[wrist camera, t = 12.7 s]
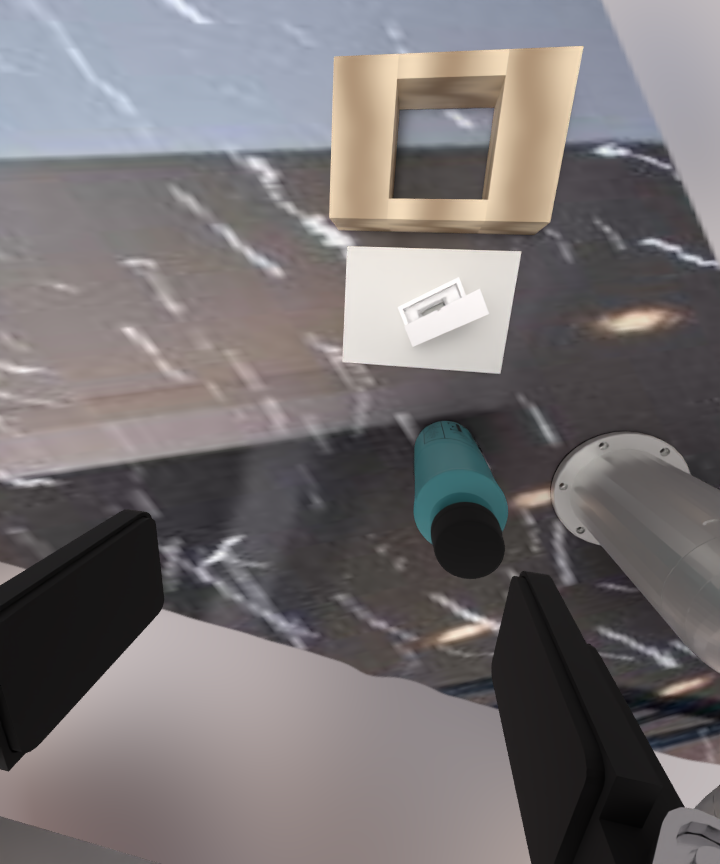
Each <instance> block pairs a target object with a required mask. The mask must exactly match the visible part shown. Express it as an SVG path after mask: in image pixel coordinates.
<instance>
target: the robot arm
mask: <svg viewBox="0 0 720 864" xmlns="http://www.w3.org/2000/svg"><path fill="white" fill-rule="evenodd" d="M600 443H602V444H601V445H600ZM561 483H562V484H561ZM560 484H561V485H560ZM551 500H552V505H553V508H554V510H555V513H556V515H557V516H558V518H559V519H560V521H561V522H562V523H563V524H564V526H565V527H566V528H567V529H568V530H569V531H570V532H571V533H573V534H574V535H575V536H577V537H579V538H581V539H583V540H585V541H587V542H590V543H593V544H597V545H601V546H602V547H603V548H604V549H605V551H606V552H607V553H608V554H609V555H610V556H611V558H612V559H613V560H614V561H615V562H616V564H617V565H618V566H619V567H620V568H621V569H622V571H623V572H624V573H625V574H626V575H627V576H628V578H629V579H630V580H631V581H632V582H633V584H634V585H635V586H636V587H637V588H638V589H639V591H640V592H641V593H642V594H643V595H644V596H645V598H646V599H647V600H648V601H649V602H650V604H651V605H652V606H653V607H654V608H655V609H656V611H657V612H658V613H659V614H660V615H661V617H662V618H663V619H664V620H665V621H666V622H667V624H668V625H669V626H670V627H671V628H672V630H673V631H674V632H675V633H676V634H677V635H678V637H679V638H680V639H681V640H682V641H683V642H684V644H685V645H686V646H687V647H688V648H689V649H690V650H691V651H692V652H693V653H694V654H695V655H696V656H697V657H698V658H699V659H701V660H702V661H703V662H704V663H706V664H707V665H708V666H709V667H711V668H712V669H714V670H715V671H717V672H718V673H720V490H718V489H716V488H715V487H713V486H711V485H709V484H707V483H705V482H703V481H701V480H700V479H698V478H696V477H694V476H692V475H691V474H690V471H689V468H688V465H687V463H686V462H685V460H684V458H683V457H682V455H681V454H680V453H679V452H678V451H677V450H676V449H675V448H674V447H672V446H671V445H669V444H667V443H666V442H664V441H662V440H660V439H658V438H656V437H653V436H651V435H647V434H643V433H640V432H629V431H623V432H612V433H608V434H604V435H600V436H597V437H595V438H592V439H590V440H588V441H586V442H584V443H583V444H581V445H579V446H578V447H576V448H575V449H574V450H573V451H572V452H571V453H569V454H568V455H567V456H566V458H565V459H564V460H563V461H562V462H561V464H560V465H559V467H558V469H557V471H556V473H555V475H554V478H553V481H552V485H551ZM163 603H164V593H163V584H162V575H161V566H160V558H159V549H158V540H157V531H156V523H155V521H154V520H153V519H152V518H151V515H150V514H149V513H147V512H142V511H136V510H129V509H127V510H123V511H121V512H119V513H118V514H116V515H114V516H113V517H111V518H109V519H108V520H106V521H104V522H103V523H101V524H100V525H98V526H96V527H95V528H93V529H91V530H90V531H88V532H87V533H85V534H83V535H82V536H80V537H78V538H77V539H75V540H73V541H72V542H70V543H69V544H67V545H65V546H64V547H62V548H60V549H59V550H57V551H56V552H54V553H52V554H51V555H49V556H47V557H46V558H44V559H43V560H41V561H39V562H38V563H36V564H34V565H33V566H31V567H29V568H28V569H26V570H25V571H23V572H22V573H20V574H18V575H17V576H15V577H13V578H12V579H10V580H8V581H7V582H5V583H4V584H2V585H0V769H1V770H5V771H10V769H11V768H12V767H13V766H14V765H15V764H16V763H17V762H18V761H19V760H20V759H21V758H22V756H23V755H24V754H25V753H27V752H30V751H32V750H33V749H35V748H36V747H37V746H38V745H39V744H40V743H41V742H42V741H43V740H44V739H45V738H46V737H47V735H49V733H50V732H51V731H52V730H53V729H54V728H55V727H56V726H57V725H58V724H59V722H60V721H61V720H62V719H63V718H64V717H65V716H66V715H67V714H68V713H69V711H70V710H71V709H72V708H73V707H74V706H75V705H76V704H77V703H78V701H80V699H81V698H82V697H83V696H84V695H85V694H86V693H87V692H88V691H89V689H90V688H91V687H92V686H93V685H94V684H95V683H96V682H97V681H98V680H99V679H100V677H101V676H102V675H103V674H104V673H105V672H106V671H107V670H108V669H109V668H110V666H111V665H112V664H113V663H114V662H115V661H116V660H117V659H118V658H119V657H120V655H121V654H122V653H123V652H124V651H125V650H126V649H127V648H128V647H129V646H130V645H131V643H132V642H133V641H134V640H135V639H136V638H137V637H138V636H139V635H140V634H141V633H142V631H143V630H144V629H145V628H146V627H147V626H148V625H149V624H150V622H152V620H153V619H154V618H155V617H156V616H157V615H158V614H159V612H160V611H161V609H162V607H163ZM492 680H493V685H494V690H495V694H496V699H497V704H498V709H499V713H500V718H501V723H502V727H503V732H504V737H505V742H506V746H507V751H508V756H509V760H510V765H511V770H512V775H513V779H514V784H515V789H516V793H517V798H518V803H519V808H520V812H521V817H522V821H523V827H524V831H525V836H526V841H527V845H528V850H529V855H530V859H531V864H720V785H719V786H718V787H717V788H716V789H714V790H713V791H712V792H711V793H709V794H708V795H707V796H706V797H705V798H704V799H703V800H702V801H701V802H700V803H699V804H698V805H697V806H696V807H695V808H694V809H691V808H685V807H684V805H683V803H682V802H681V800H680V798H679V796H678V794H677V793H676V791H675V789H674V787H673V785H672V784H671V782H670V780H669V778H668V776H667V775H666V773H665V771H664V769H663V767H662V766H661V764H660V762H659V760H658V758H657V757H656V755H655V753H654V751H653V750H652V748H651V746H650V744H649V742H648V741H647V739H646V737H645V735H644V733H643V732H642V730H641V728H640V726H639V724H638V723H637V721H636V719H635V717H634V715H633V714H632V712H631V710H630V708H629V706H628V705H627V703H626V701H625V699H624V698H623V696H622V694H621V692H620V690H619V689H618V687H617V685H616V683H615V681H614V680H613V678H612V676H611V674H610V672H609V671H608V669H607V667H606V665H605V663H604V662H603V660H602V658H601V656H600V655H599V653H598V652H597V650H596V649H595V648H594V647H593V646H592V645H590V644H586V642H585V640H584V638H583V636H582V634H581V632H580V630H579V629H578V627H577V625H576V623H575V621H574V619H573V617H572V616H571V614H570V612H569V610H568V608H567V606H566V604H565V602H564V601H563V599H562V597H561V595H560V593H559V591H558V589H557V588H556V586H555V584H554V582H553V580H552V578H551V577H550V576H549V575H545V574H539V573H533V572H526V571H523V572H521V574H520V576H519V577H517V576H513V577H512V579H511V583H510V587H509V592H508V596H507V600H506V604H505V609H504V613H503V617H502V621H501V626H500V630H499V634H498V638H497V643H496V647H495V651H494V656H493V660H492ZM0 864H160V863H156V862H153V861H150V860H147V859H143V858H140V857H136V856H133V855H130V854H126V853H123V852H120V851H116V850H113V849H110V848H106V847H103V846H99V845H96V844H92V843H89V842H86V841H82V840H79V839H76V838H72V837H69V836H66V835H62V834H59V833H55V832H52V831H49V830H45V829H42V828H38V827H35V826H32V825H28V824H25V823H21V822H18V821H14V820H11V819H8V818H4V817H1V816H0Z"/></svg>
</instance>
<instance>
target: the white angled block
mask: <svg viewBox="0 0 720 864" xmlns="http://www.w3.org/2000/svg"><path fill="white" fill-rule="evenodd" d="M440 303H443V305H444V307H442V308H440V309H439V310H438V311H437V310H435V311H433V312H431V313H429V314H427V315H425V316H422V314H421V313H422V312H424V311H426V310H428V309H430V308H432V307H434V306H436V305H438V304H440ZM398 310H399V312H400V315H401V317H402V319H403V322H404V324H405V326H404V327H405V330H406V332H407V335H408V337H409V339H410V342H411V344H412V347H414V346H416V345H418V344H421V343H423V342H425V341H428V340H430V339H432V338H435V337H437V336H439V335H441V334H444V333H446V332H448V331H451V330H453V329H455V328H458V327H460V326H462V325H465V324H467V323H469V322H472V321H474V320H476V319H479V318H481V317H483V316H486V315H488V314H489V312H488V309H487V307H486V304H485V301H484V298H483V296H482V293H481V290H480V289H478V290H476V291H474V292H472V293H470V294H468V295H466V294H465V291H464V289H463V286H462V283H461V281H460V278H459V277H458V278H456V279H453V280H451V281H449V282H447V283H445V284H443V285H441V286H439V287H437V288H435V289H433V290H431V291H429V292H427V293H425V294H423V295H421V296H419V297H417V298H415V299H413V300H411V301H409V302H407V303H405V304H403V305H401V306H399V307H398Z"/></svg>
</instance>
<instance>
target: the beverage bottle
mask: <svg viewBox="0 0 720 864" xmlns="http://www.w3.org/2000/svg"><path fill="white" fill-rule="evenodd" d="M424 428H425V427H424ZM467 429H468V428H467ZM467 429H466V427H465V428H464V427H463V425H461V424H459V423H458V422H457V423H455V421H454V422H451V421H450V420H449V421H442V420H441V421H440V422H437V421H436V423H434V422H433V424H431V425H429V426H427V427H426V428H425V429H423V430H422V432H421V433H420V434H419V436H418V438H417V440H416V443H415V459H414V460H415V483H414V484H415V502H414V519H415V522H416V525H417V527H418V529H419V531H420V532H421V534H422V535H423V536H424V537H425V539H426V540H428V541H429V542H430V543H431V544H433V547H434V552H435V556H436V558H437V560H438V562H439V563H440V565H441V566H442V567H443V568H444V569H445V570H446V571H447V572H449V573H450V574H452V575H454V576H457V577H460V578H466V579H476V578H481V577H484V576H487V575H489V574H490V573H492V572H493V571H495V570H496V569H497V568H498V566H499V565H500V563H501V562H502V560H503V557H504V552H505V545H504V540H503V537H502V531H503V529H504V527H505V525H506V522H507V517H508V506H507V501H506V498H505V496H504V494H503V492H502V490H501V489H500V487H499V486H498V485H497V483H496V481H495V479H494V477H493V475H492V473H491V471H490V469H489V467H488V465H487V463H486V461H485V459H484V458H483V455H482V454H481V452H482V450H481V452H480V450H479V449H481V448H480V447H478V446H479V445H476V444H477V443H475V441H474V440H475V439H474V437H473V436H472V434H471V431H468V430H467ZM469 432H470V433H469ZM413 446H414V445H413ZM414 460H413V461H414ZM413 463H414V462H413ZM489 465H490V464H489ZM413 467H414V466H413ZM490 467H491V466H490ZM413 470H414V468H413ZM413 473H414V472H413ZM413 475H414V474H413Z"/></svg>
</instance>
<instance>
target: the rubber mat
mask: <svg viewBox="0 0 720 864" xmlns="http://www.w3.org/2000/svg"><path fill="white" fill-rule="evenodd" d="M520 256H521V251H488V250H454V249H421V248H388V247H355V246H347V268H346V291H345V315H344V338H343V362H349V363H363V364H376V365H390V366H403V367H416V368H430V369H443V370H457V371H470V372H484V373H497V374H500V372H501V367H502V361H503V355H504V349H505V343H506V338H507V332H508V326H509V320H510V314H511V309H512V303H513V297H514V291H515V285H516V280H517V274H518V268H519V262H520ZM458 277H459V278H460V281H461V283H462V286H463V289H464V291H465V294H466V295H468V294H470V293H472V292H474V291H476V290H478V289H480V290H481V293H482V296H483V298H484V301H485V304H486V307H487V309H488V312H489V314H488V315H486V316H483V317H481V318H479V319H476V320H474V321H472V322H469V323H467V324H465V325H462V326H460V327H458V328H455V329H453V330H451V331H448V332H446V333H444V334H441V335H439V336H437V337H435V338H432V339H430V340H428V341H425V342H423V343H421V344H418V345H416V346H414V347H412V344H411V342H410V339H409V337H408V335H407V332H406V330H405V327H404V326H405V324H404V322H403V319H402V317H401V315H400V312H399V310H398V307H399V306H401V305H403V304H405V303H407V302H409V301H411V300H413V299H415V298H417V297H419V296H421V295H423V294H425V293H427V292H429V291H431V290H433V289H435V288H437V287H439V286H441V285H443V284H445V283H447V282H449V281H451V280H453V279H456V278H458ZM442 307H444V305H443V303H440V304H438V305H436V306H434V307H432V308H430V309H428V310H426V311H424V312H422V313H421V314H422V316H425V315H427V314H429V313H431V312H433V311H435V310H437V311H438V310H439V309H440V308H442Z"/></svg>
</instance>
